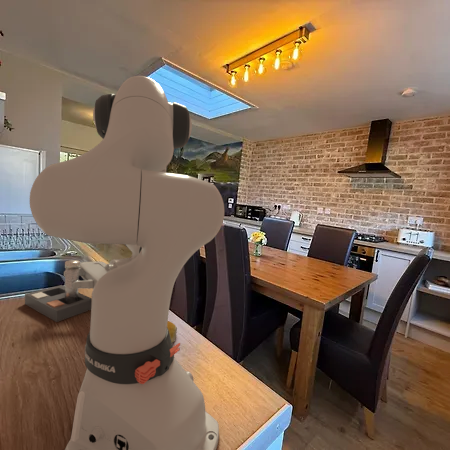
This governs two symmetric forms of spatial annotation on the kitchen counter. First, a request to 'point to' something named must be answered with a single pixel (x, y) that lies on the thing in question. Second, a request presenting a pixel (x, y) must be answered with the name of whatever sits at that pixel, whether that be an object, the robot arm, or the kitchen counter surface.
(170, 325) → the bread roll
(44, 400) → the kitchen counter surface
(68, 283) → the metal plug
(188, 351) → the kitchen counter surface
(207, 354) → the kitchen counter surface
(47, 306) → the socket board
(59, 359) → the kitchen counter surface
